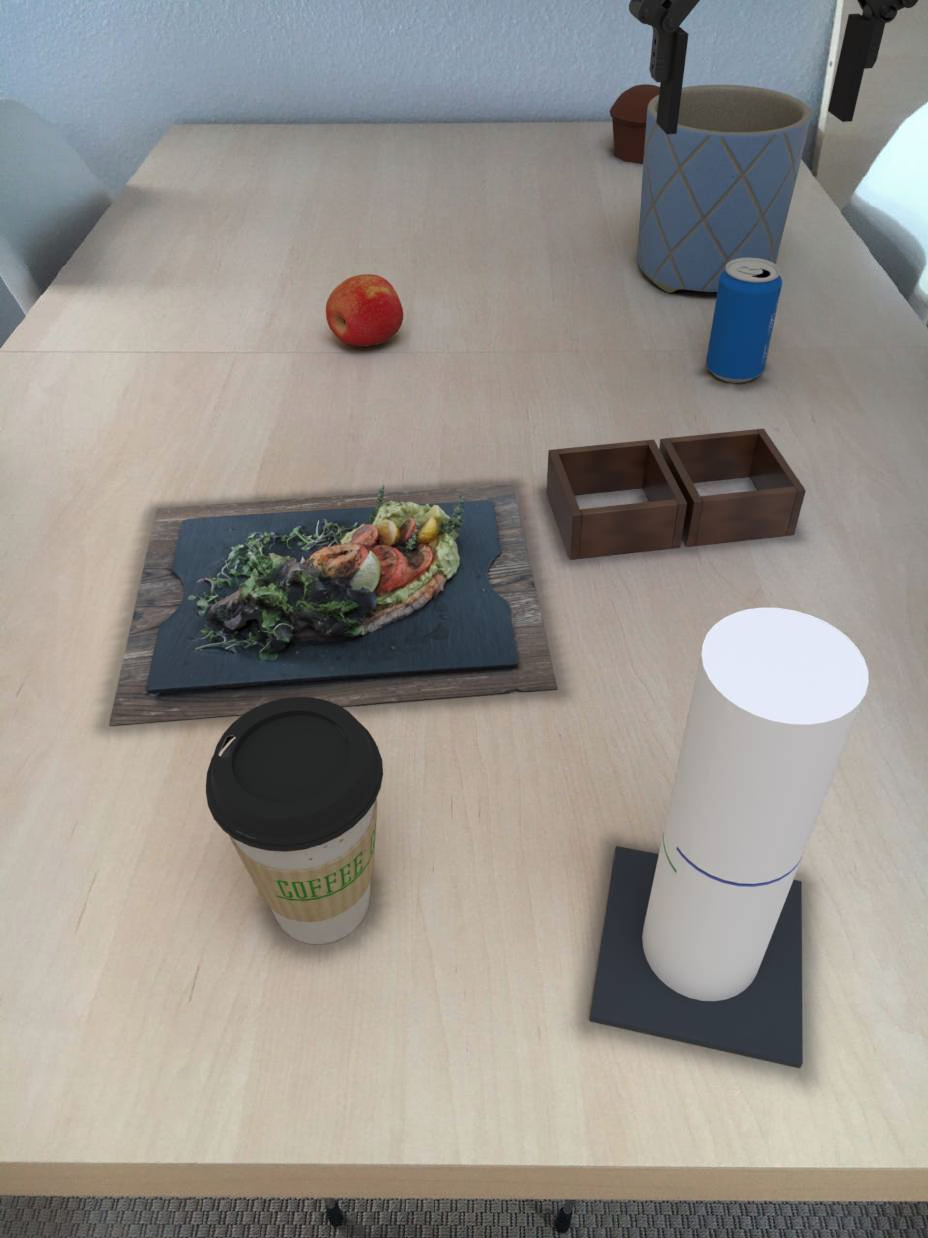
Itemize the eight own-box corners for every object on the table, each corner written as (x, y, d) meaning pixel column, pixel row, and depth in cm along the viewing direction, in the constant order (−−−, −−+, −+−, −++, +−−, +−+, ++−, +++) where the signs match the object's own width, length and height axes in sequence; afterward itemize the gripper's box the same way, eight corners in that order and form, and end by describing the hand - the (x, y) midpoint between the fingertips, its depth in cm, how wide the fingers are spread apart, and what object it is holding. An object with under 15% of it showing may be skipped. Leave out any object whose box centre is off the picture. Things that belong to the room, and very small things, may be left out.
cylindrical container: (702, 1025, 57) (793, 752, 40) (618, 934, 61) (667, 651, 44) (785, 956, 60) (903, 674, 43) (699, 873, 64) (775, 586, 47)
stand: (754, 471, 98) (764, 427, 94) (794, 534, 90) (806, 490, 87) (546, 493, 96) (548, 449, 92) (569, 559, 89) (572, 515, 85)
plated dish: (511, 480, 98) (512, 416, 92) (563, 692, 77) (568, 626, 72) (152, 512, 95) (132, 448, 90) (110, 739, 75) (82, 674, 70)
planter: (644, 305, 124) (663, 136, 110) (621, 243, 138) (635, 86, 124) (795, 300, 124) (833, 131, 111) (757, 238, 138) (786, 81, 124)
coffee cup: (378, 983, 60) (355, 842, 50) (224, 958, 61) (170, 816, 51) (412, 847, 67) (398, 698, 57) (273, 827, 68) (234, 678, 58)
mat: (799, 885, 64) (801, 880, 64) (800, 1068, 56) (802, 1064, 55) (615, 850, 66) (616, 845, 66) (589, 1021, 58) (590, 1016, 58)
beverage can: (751, 391, 109) (772, 287, 100) (696, 376, 111) (712, 273, 103) (771, 366, 113) (793, 263, 104) (717, 352, 115) (734, 251, 107)
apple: (412, 347, 117) (408, 283, 112) (348, 366, 114) (341, 301, 109) (383, 321, 122) (377, 258, 117) (320, 338, 120) (312, 274, 114)
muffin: (598, 144, 167) (602, 79, 160) (661, 139, 169) (668, 74, 162) (619, 169, 159) (624, 101, 152) (685, 163, 160) (693, 95, 153)
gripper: (978, -263, 64) (888, 96, 78) (601, -250, 61) (580, 117, 76) (1045, -258, 58) (934, 126, 73) (634, -244, 56) (604, 150, 71)
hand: (753, 122), depth 75 cm, fingers open, 13 cm apart
